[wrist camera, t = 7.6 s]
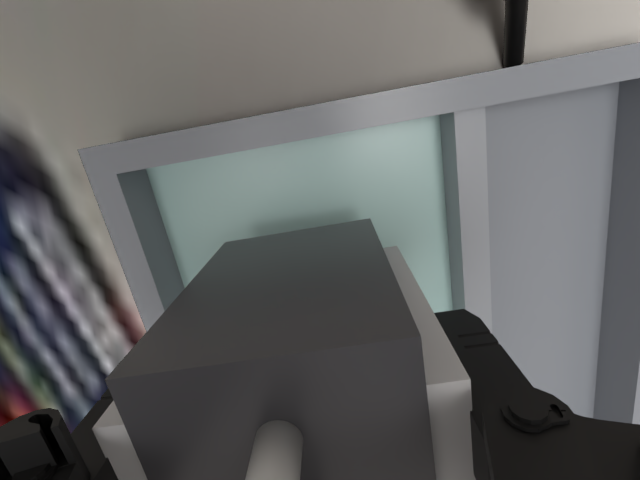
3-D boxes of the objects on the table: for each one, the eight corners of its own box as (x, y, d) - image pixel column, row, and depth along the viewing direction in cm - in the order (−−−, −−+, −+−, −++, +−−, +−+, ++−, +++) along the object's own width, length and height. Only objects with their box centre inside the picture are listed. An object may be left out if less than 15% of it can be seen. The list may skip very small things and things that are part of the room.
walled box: (122, 143, 15) (77, 149, 12) (637, 45, 13) (715, 28, 11) (241, 494, 21) (229, 549, 18) (601, 454, 20) (644, 507, 17)
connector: (225, 242, 12) (23, 472, 4) (370, 218, 12) (457, 420, 4) (258, 364, 14) (156, 708, 6) (387, 346, 14) (477, 687, 5)
